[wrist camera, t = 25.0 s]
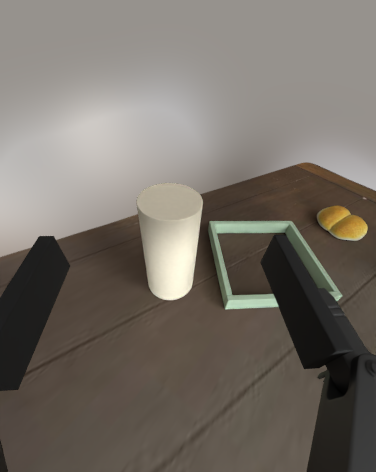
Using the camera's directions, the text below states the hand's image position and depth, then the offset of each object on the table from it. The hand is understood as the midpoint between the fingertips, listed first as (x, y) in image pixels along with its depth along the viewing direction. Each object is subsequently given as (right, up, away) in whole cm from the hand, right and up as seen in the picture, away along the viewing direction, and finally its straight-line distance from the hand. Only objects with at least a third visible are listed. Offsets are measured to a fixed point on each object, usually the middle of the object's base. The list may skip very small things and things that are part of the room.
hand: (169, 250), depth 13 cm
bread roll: (+33, +3, +31) cm, 46 cm away
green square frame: (+14, -4, +23) cm, 27 cm away
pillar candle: (-2, -6, +19) cm, 20 cm away
